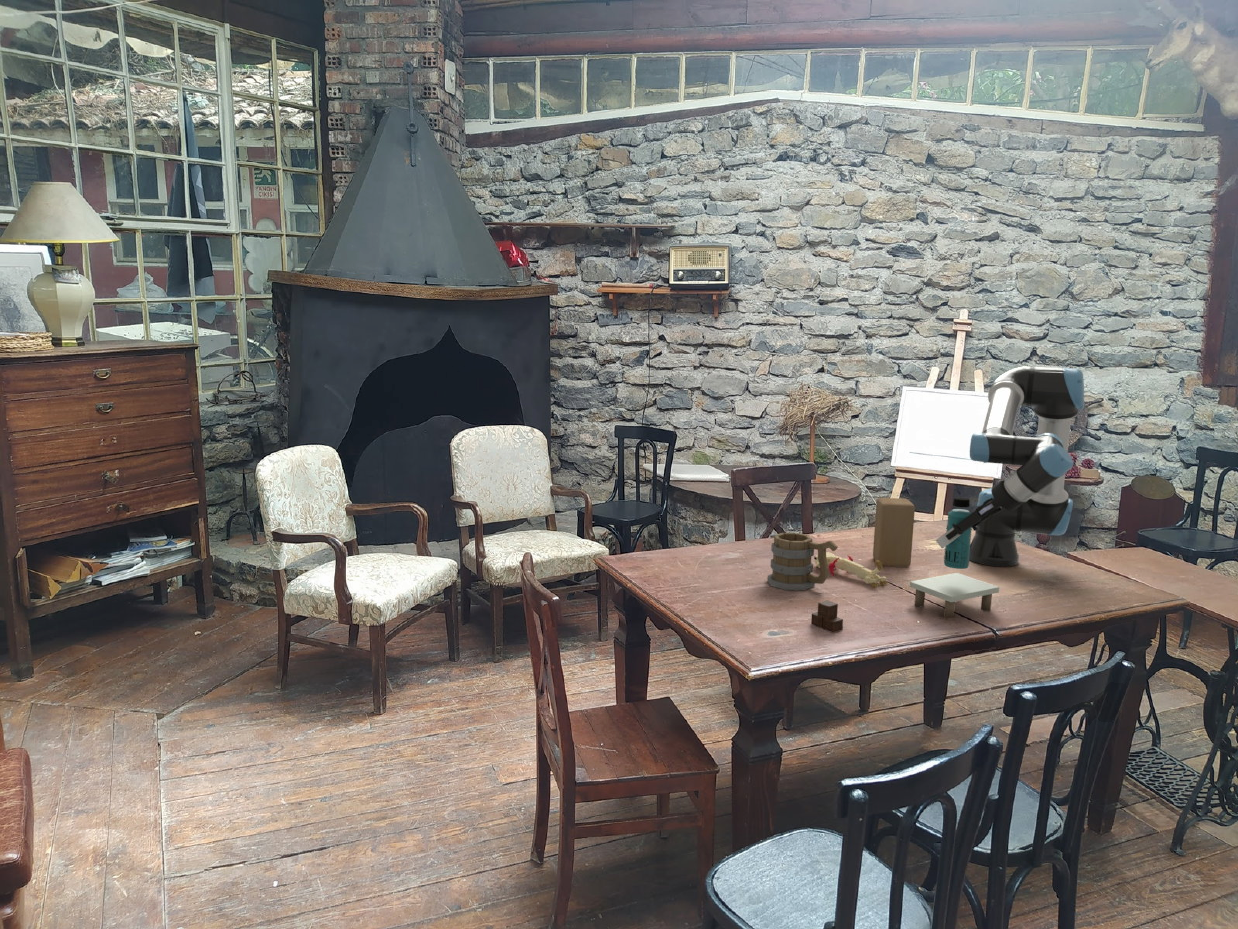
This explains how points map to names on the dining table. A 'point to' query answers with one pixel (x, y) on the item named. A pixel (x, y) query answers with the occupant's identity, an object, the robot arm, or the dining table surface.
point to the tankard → (797, 561)
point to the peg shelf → (953, 591)
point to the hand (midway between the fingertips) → (944, 541)
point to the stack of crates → (827, 617)
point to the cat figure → (854, 569)
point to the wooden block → (893, 532)
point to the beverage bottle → (960, 546)
